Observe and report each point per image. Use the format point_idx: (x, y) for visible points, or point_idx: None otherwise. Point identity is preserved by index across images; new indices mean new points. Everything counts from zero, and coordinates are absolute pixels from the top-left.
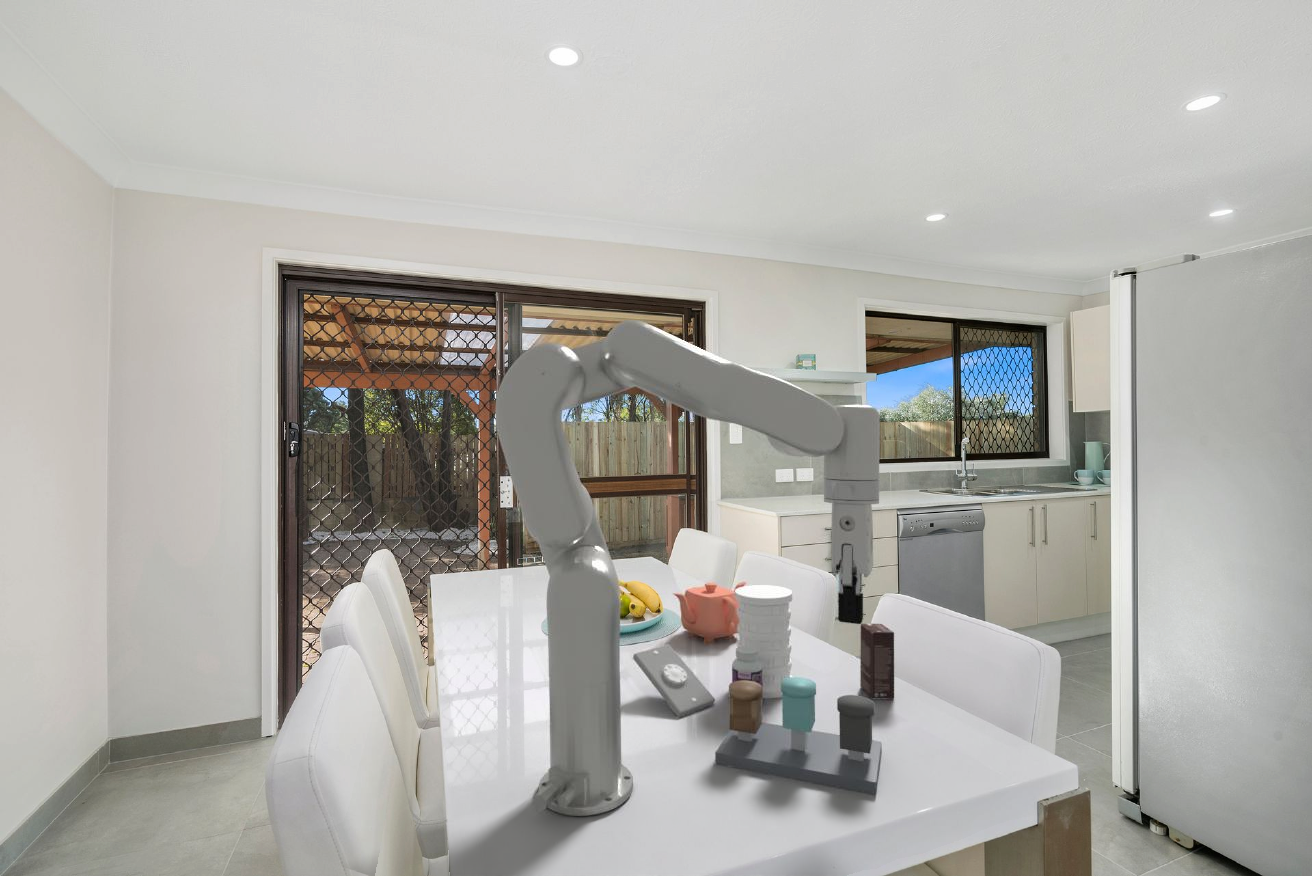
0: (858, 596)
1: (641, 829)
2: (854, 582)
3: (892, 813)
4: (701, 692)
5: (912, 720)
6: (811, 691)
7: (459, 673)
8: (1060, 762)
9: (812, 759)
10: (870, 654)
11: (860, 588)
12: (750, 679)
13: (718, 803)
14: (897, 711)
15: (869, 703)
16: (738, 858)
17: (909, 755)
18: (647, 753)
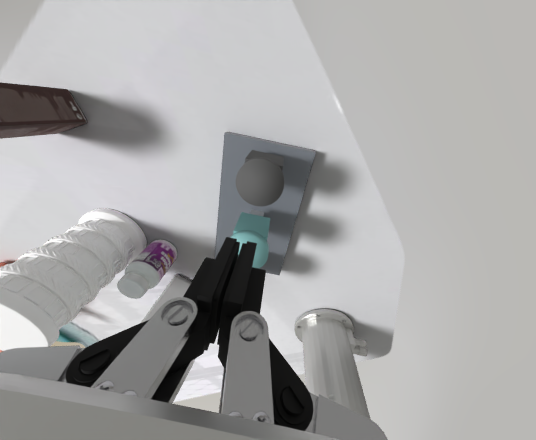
0: (241, 309)
1: (364, 300)
2: (308, 411)
3: (345, 139)
4: (176, 289)
5: (125, 74)
6: (261, 239)
7: (194, 393)
8: None
9: (278, 206)
10: (19, 127)
11: (195, 320)
12: (161, 266)
13: (334, 265)
14: (107, 91)
15: (260, 165)
16: (398, 253)
17: (225, 98)
18: (273, 305)
